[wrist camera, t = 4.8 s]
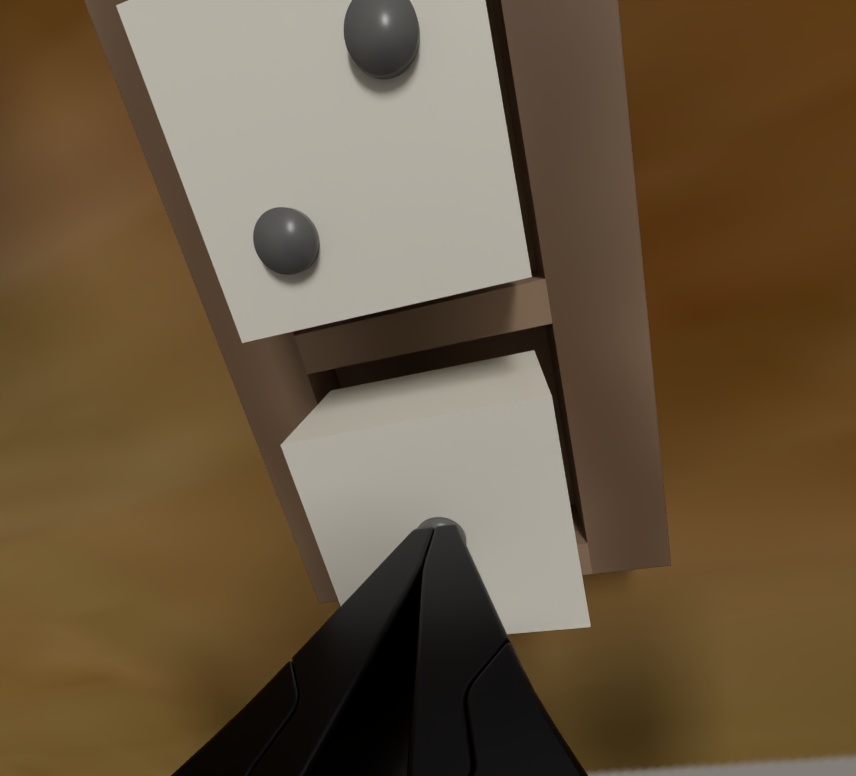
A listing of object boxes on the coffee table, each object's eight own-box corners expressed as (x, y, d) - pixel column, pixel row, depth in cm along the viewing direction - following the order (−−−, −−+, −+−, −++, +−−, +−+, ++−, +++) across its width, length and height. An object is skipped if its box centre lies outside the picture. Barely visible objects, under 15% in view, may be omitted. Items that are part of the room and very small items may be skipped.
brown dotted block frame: (516, -599, 8) (529, -939, 5) (642, 511, 14) (671, 565, 12) (33, -318, 10) (-106, -485, 7) (342, 550, 16) (319, 603, 14)
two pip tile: (470, -16, 8) (462, -147, 5) (518, 261, 10) (532, 278, 7) (226, 70, 9) (104, -1, 6) (305, 311, 11) (236, 346, 8)
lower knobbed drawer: (534, 350, 10) (554, 400, 8) (566, 532, 12) (592, 635, 9) (330, 390, 11) (275, 450, 8) (384, 554, 13) (353, 654, 10)
